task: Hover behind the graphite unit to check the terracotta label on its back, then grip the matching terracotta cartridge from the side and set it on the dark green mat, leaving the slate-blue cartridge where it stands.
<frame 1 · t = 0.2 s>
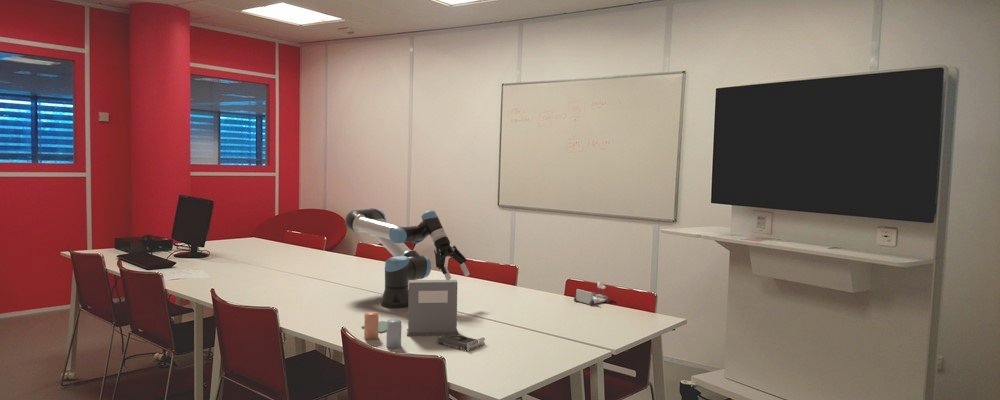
hand: (458, 277, 295), 16 cm above the table, tool tilted 35°, fingers open, 13 cm apart
graphics card: (460, 346, 240), on the table
green mat: (381, 327, 261), on the table
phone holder: (593, 302, 318), on the table
graphite unit: (432, 332, 255), on the table
slate cartridge: (393, 346, 236), on the table
terracotta cartridge: (371, 337, 246), on the table
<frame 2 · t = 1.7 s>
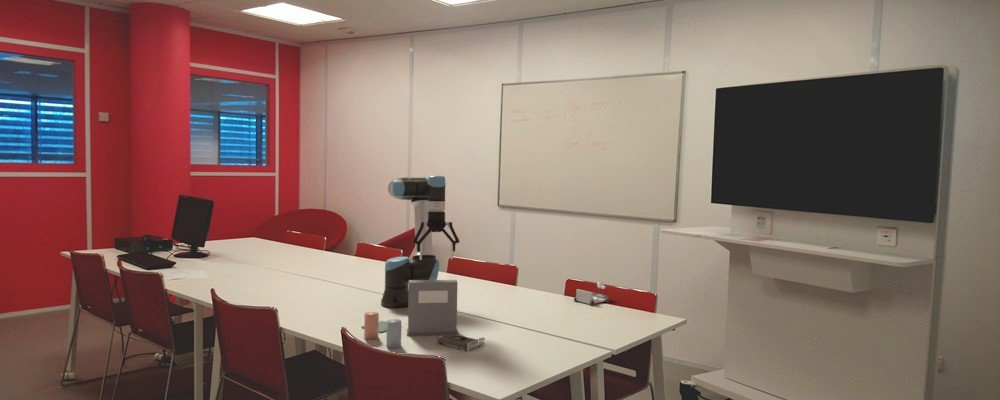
hand: (436, 259, 268), 29 cm above the table, tool pointing down, fingers open, 13 cm apart
nothing on the table moved.
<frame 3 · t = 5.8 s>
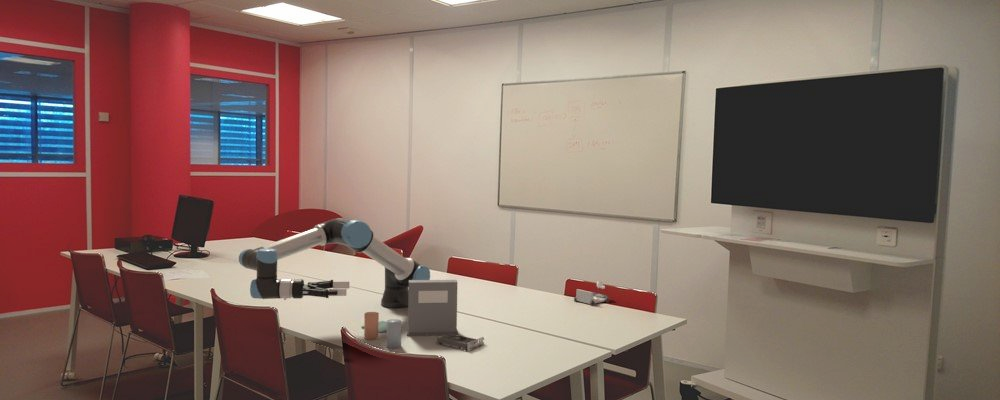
hand: (348, 288, 243), 20 cm above the table, tool horizontal, fingers open, 13 cm apart
nothing on the table moved.
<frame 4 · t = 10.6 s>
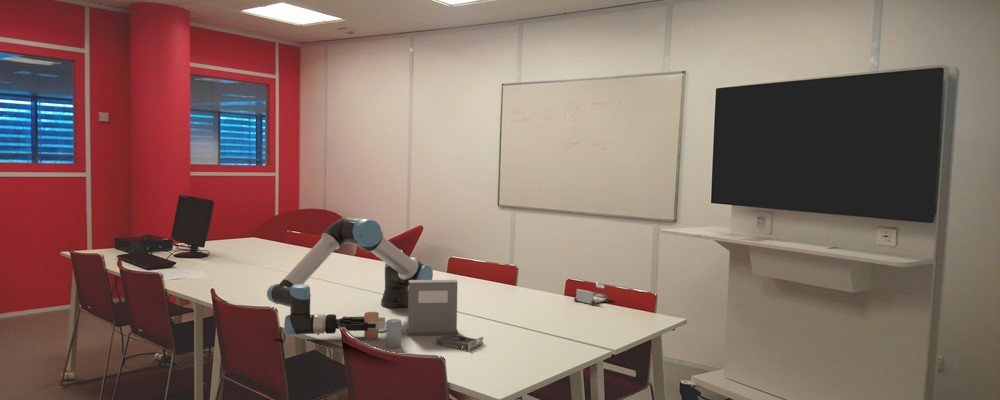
hand: (384, 322, 246), 6 cm above the table, tool horizontal, fingers closed on terracotta cartridge, 5 cm apart
terracotta cartridge: (371, 337, 246), on the table, touching gripper
everything else where it was.
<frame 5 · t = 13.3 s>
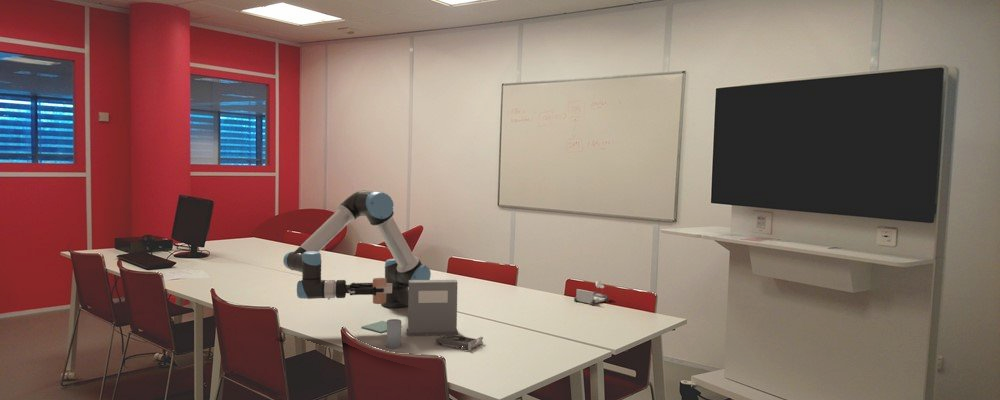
hand: (392, 288, 258), 18 cm above the table, tool horizontal, fingers closed on terracotta cartridge, 5 cm apart
terracotta cartridge: (379, 302, 258), point 12 cm above the table, touching gripper
when the fingers open (8 cm above the table, at t = 15.9 s): terracotta cartridge stays where it is, resting on green mat.
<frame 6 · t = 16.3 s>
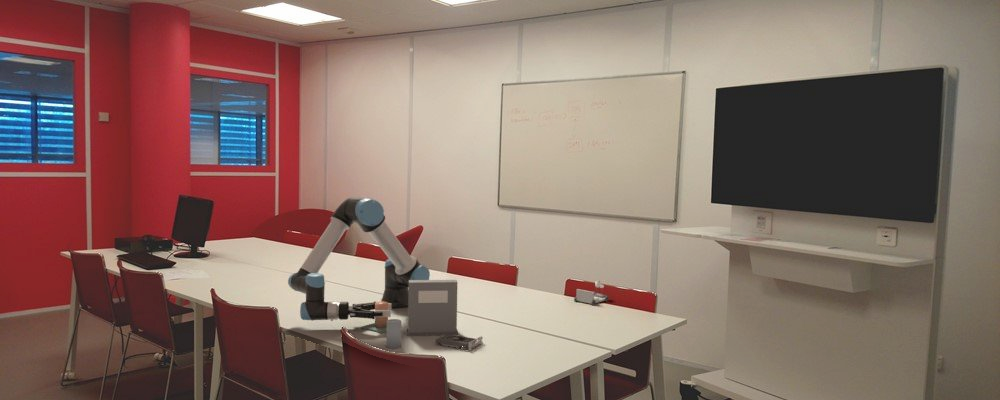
hand: (391, 309, 261), 8 cm above the table, tool horizontal, fingers open, 11 cm apart
terracotta cartridge: (381, 326, 261), point 1 cm above the table, touching green mat
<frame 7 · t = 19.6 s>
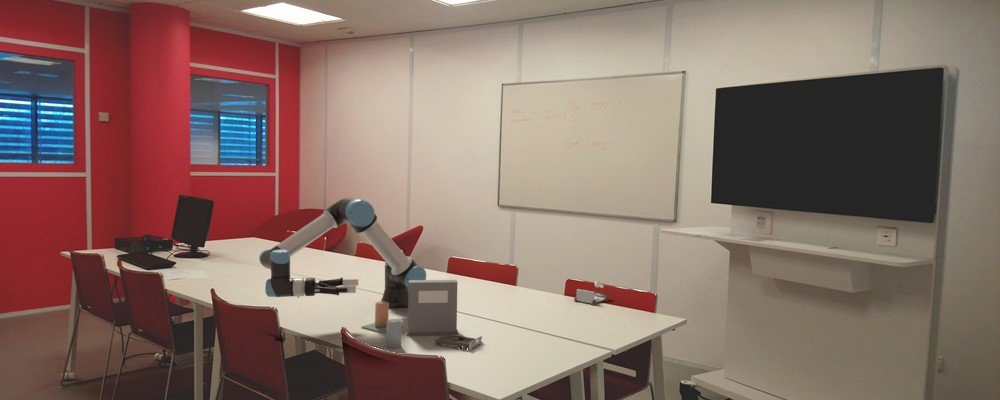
hand: (357, 285, 258), 18 cm above the table, tool horizontal, fingers open, 13 cm apart
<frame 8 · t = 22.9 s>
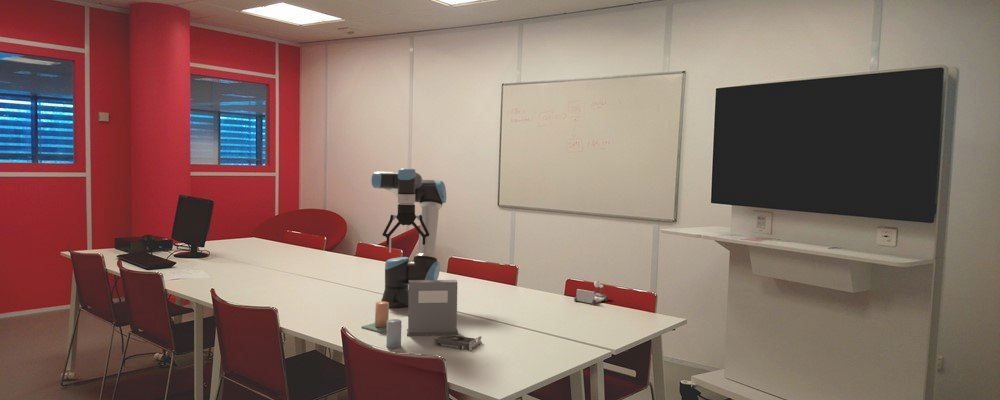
hand: (405, 252, 266), 32 cm above the table, tool pointing down, fingers open, 13 cm apart
at the end: terracotta cartridge inside the target area on the green mat (0.1 cm from its centre), point 0.7 cm above the green mat's base; terracotta cartridge tilted 2°; slate cartridge moved 0.0 cm from its start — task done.
